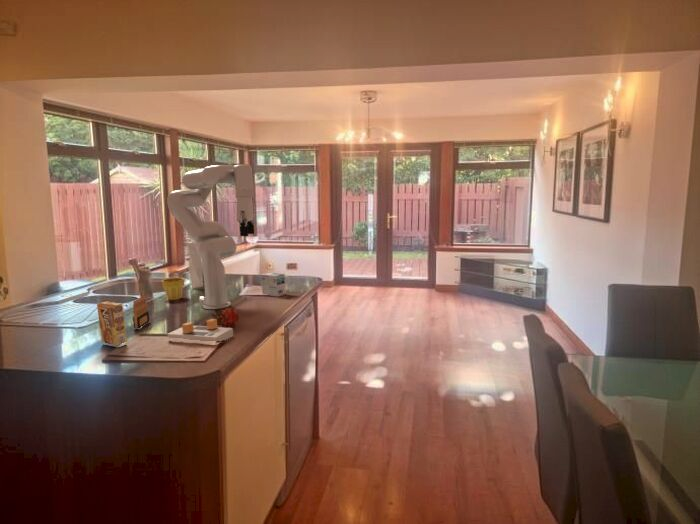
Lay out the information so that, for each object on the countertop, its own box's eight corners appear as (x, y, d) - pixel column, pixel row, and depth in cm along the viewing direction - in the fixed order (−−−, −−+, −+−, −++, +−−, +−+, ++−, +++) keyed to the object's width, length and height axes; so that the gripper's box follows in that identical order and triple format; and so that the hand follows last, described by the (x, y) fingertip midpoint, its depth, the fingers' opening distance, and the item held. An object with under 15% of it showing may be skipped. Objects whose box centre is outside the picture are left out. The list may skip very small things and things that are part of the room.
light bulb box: (286, 294, 243) (285, 273, 241) (277, 297, 238) (276, 275, 236) (270, 292, 249) (269, 271, 247) (261, 294, 243) (260, 274, 241)
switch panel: (168, 341, 172) (167, 333, 172) (187, 332, 183) (186, 324, 182) (216, 345, 166) (215, 337, 166) (233, 336, 177) (232, 327, 176)
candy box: (127, 345, 170) (123, 303, 168) (117, 348, 167) (112, 306, 164) (111, 341, 175) (107, 300, 172) (101, 345, 171) (96, 303, 168)
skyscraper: (190, 289, 261) (186, 238, 256) (189, 287, 268) (184, 237, 264) (206, 288, 264) (202, 237, 260) (204, 285, 271) (200, 236, 267)
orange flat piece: (138, 330, 188) (135, 300, 186) (134, 330, 188) (130, 300, 186) (149, 322, 199) (147, 294, 197) (145, 322, 199) (142, 294, 197)
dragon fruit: (218, 336, 183) (233, 331, 194) (235, 323, 181) (248, 319, 193) (206, 317, 184) (221, 313, 195) (222, 304, 182) (237, 301, 194)
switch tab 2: (207, 328, 175) (206, 321, 174) (211, 326, 178) (211, 318, 177) (212, 329, 174) (212, 321, 174) (217, 326, 177) (216, 319, 177)
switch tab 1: (182, 332, 171) (182, 324, 171) (188, 330, 174) (187, 322, 173) (188, 333, 170) (187, 325, 170) (193, 330, 173) (192, 322, 173)
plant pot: (181, 300, 236) (179, 281, 235) (160, 301, 236) (158, 281, 235) (188, 295, 246) (186, 277, 245) (168, 296, 247) (166, 277, 245)
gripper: (241, 194, 210) (244, 233, 213) (229, 195, 193) (232, 237, 196) (258, 193, 210) (261, 232, 212) (247, 194, 192) (250, 236, 195)
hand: (247, 234), depth 204 cm, fingers open, 9 cm apart
